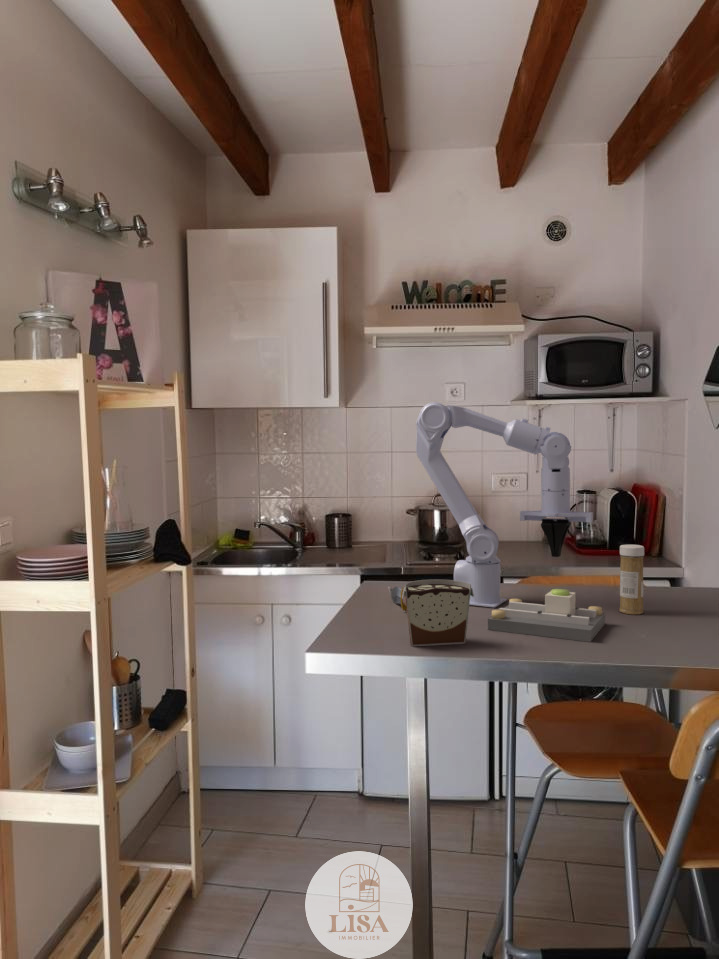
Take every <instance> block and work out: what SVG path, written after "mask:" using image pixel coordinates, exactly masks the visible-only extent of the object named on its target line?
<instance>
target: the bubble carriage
mask: <svg viewBox="0 0 719 959" xmlns="http://www.w3.org/2000/svg"><path fill="white" fill-rule="evenodd" d="M576 593H577V592H575V591H573V592H572V591H571V590H570V589H563V588H553V589H551V590H550V591H548V592H546V594H545V595H544V605H545V613H553V614H563V615H568V614H571V615H573V616H574V615H575V607H576V601H577V600H576V599H577V598H576Z"/></svg>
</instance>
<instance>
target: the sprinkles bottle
mask: <svg viewBox="0 0 719 959" xmlns="http://www.w3.org/2000/svg"><path fill="white" fill-rule="evenodd" d="M619 556H620V568H619V598H620V599H619V600H620V601H619V602H620V603H619V605H620V606H619V612H621V613H623V614H625V615H632V616H633V615H635V616H636V615H641V614H644V558H645V557H644V556H645V547H644V545H640V544H630V543H629V544H621V545H620V546H619Z"/></svg>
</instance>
